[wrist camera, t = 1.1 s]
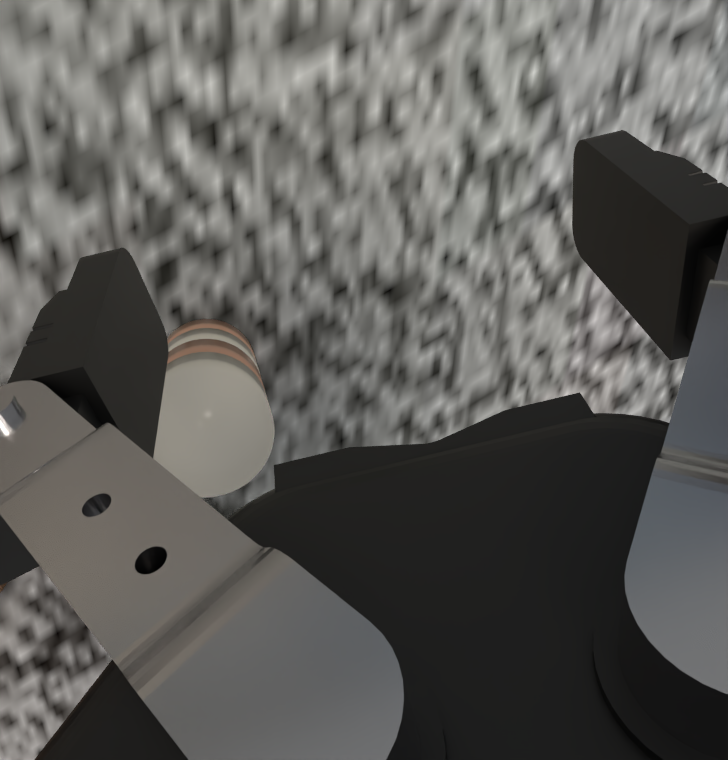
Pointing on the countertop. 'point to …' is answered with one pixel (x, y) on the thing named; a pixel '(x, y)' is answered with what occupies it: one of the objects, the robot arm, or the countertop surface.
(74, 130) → the countertop surface
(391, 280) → the countertop surface
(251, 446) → the bead stack
